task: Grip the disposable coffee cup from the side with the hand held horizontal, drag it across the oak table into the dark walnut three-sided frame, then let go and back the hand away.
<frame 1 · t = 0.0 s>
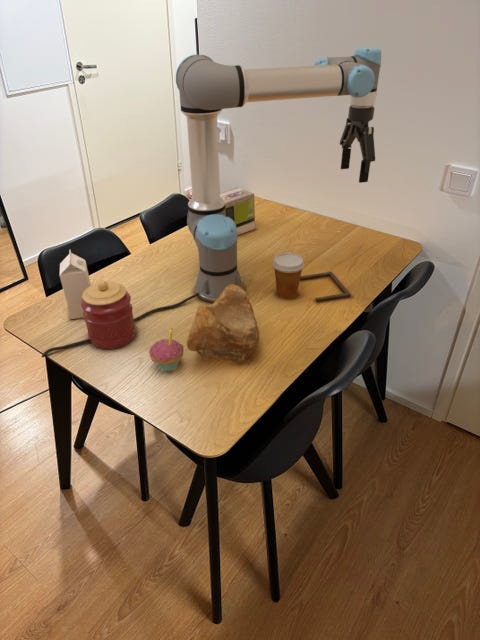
hand: (353, 175, 161), 28 cm above the table, tool pointing down, fingers open, 13 cm apart
cupcake: (168, 366, 127), on the table
rough brown rock: (230, 350, 132), on the table
walnut frame: (322, 288, 157), on the table
milk carton: (83, 312, 148), on the table
tea box: (232, 231, 193), on the table
kitchen canister: (113, 336, 137), on the table
disposable coffee cup: (286, 294, 154), on the table
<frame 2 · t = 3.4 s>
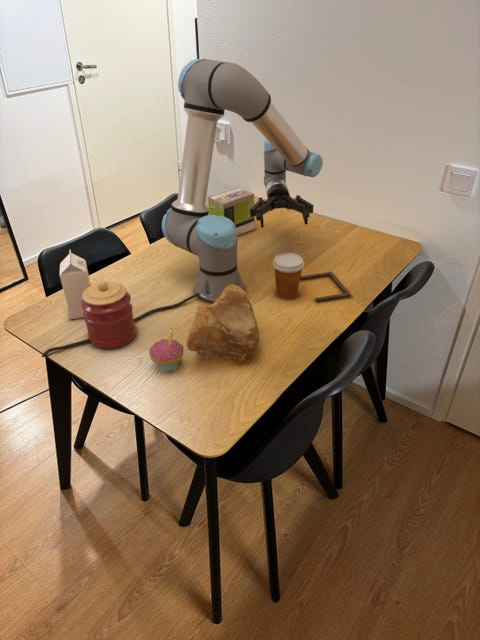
hand: (284, 221, 151), 20 cm above the table, tool horizontal, fingers open, 13 cm apart
nothing on the table moved.
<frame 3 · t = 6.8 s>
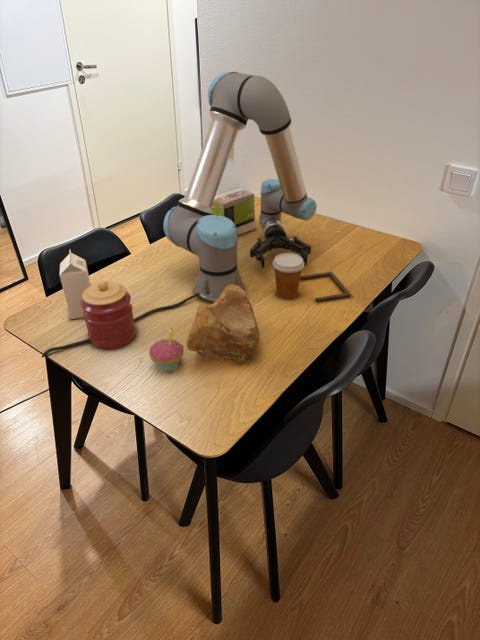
hand: (284, 263, 156), 7 cm above the table, tool horizontal, fingers open, 13 cm apart
nothing on the table moved.
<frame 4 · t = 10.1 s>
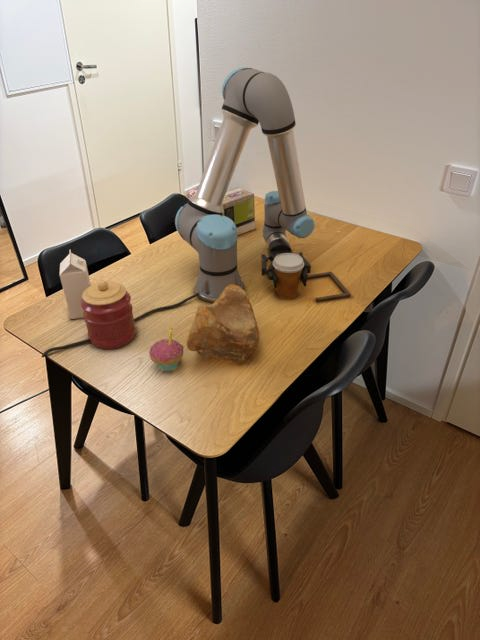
hand: (290, 283, 147), 7 cm above the table, tool horizontal, fingers closed on disposable coffee cup, 8 cm apart
disposable coffee cup: (286, 294, 154), on the table, touching gripper
everything else where it was.
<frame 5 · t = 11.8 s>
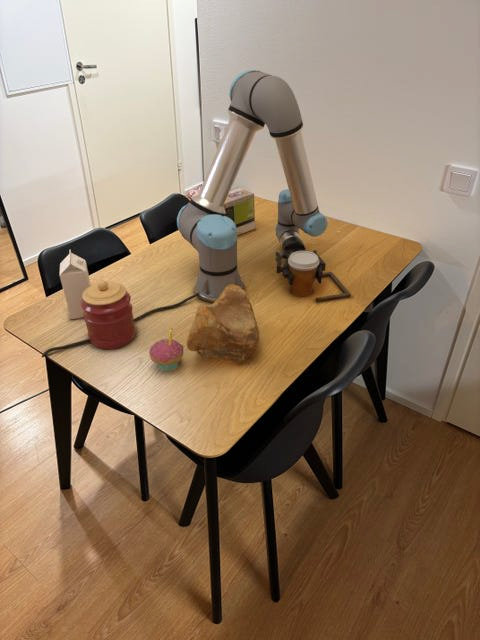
hand: (305, 280, 148), 7 cm above the table, tool horizontal, fingers closed on disposable coffee cup, 8 cm apart
disposable coffee cup: (301, 291, 155), on the table, touching gripper
everything else where it was.
when the fingers open (7 cm above the table, at t = 13.8 s): disposable coffee cup stays where it is, on the table.
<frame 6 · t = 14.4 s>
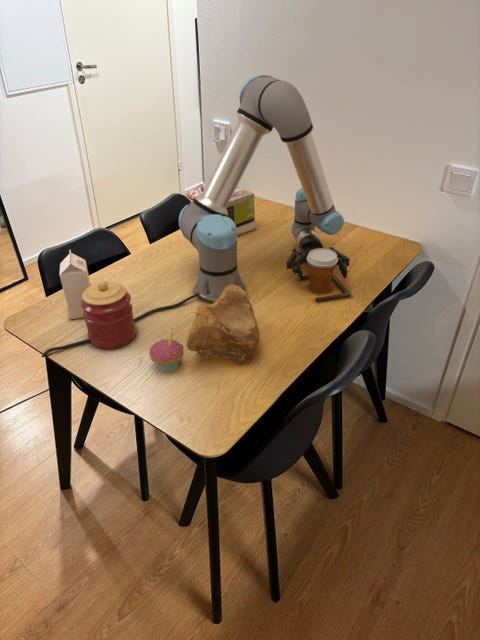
hand: (323, 275, 150), 7 cm above the table, tool horizontal, fingers open, 13 cm apart
disposable coffee cup: (319, 288, 157), on the table
everything else where it was.
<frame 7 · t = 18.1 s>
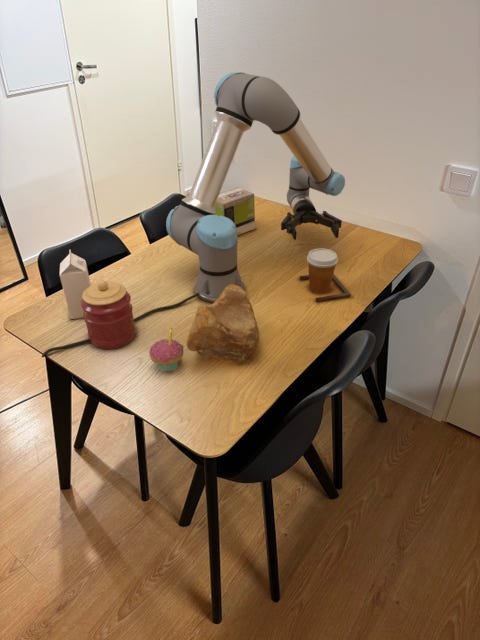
hand: (316, 235, 156), 14 cm above the table, tool horizontal, fingers open, 13 cm apart
nothing on the table moved.
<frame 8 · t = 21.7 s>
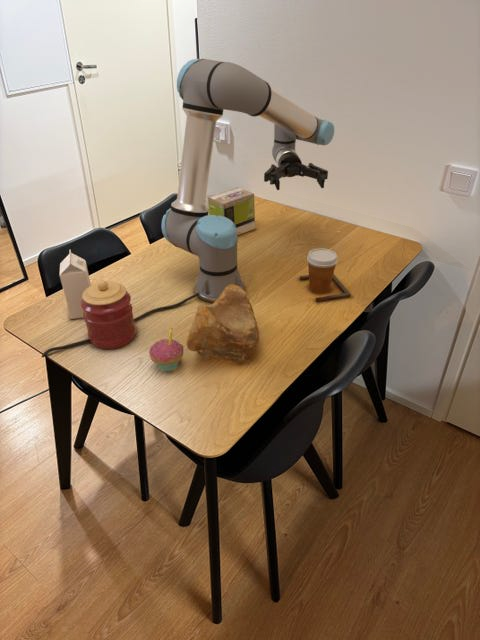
hand: (300, 184, 148), 30 cm above the table, tool horizontal, fingers open, 13 cm apart
nothing on the table moved.
at the end: disposable coffee cup 0.5 cm from the target spot, on the table; disposable coffee cup tilted 0°; the gripper is holding nothing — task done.
